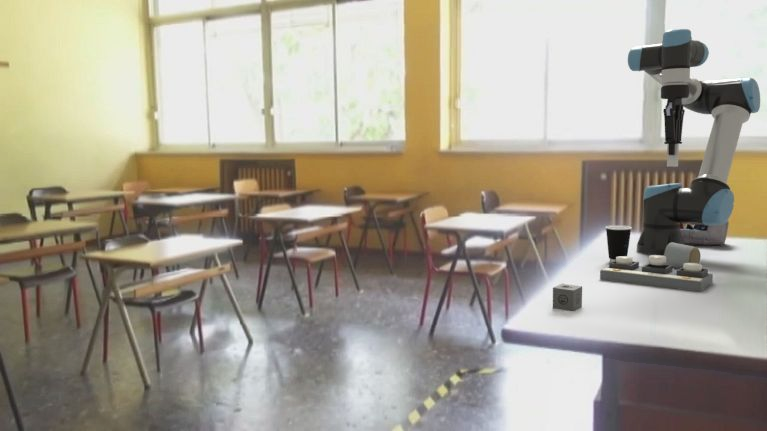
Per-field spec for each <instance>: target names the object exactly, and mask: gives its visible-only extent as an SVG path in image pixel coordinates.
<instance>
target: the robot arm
mask: <svg viewBox="0 0 767 431" xmlns="http://www.w3.org/2000/svg"><path fill="white" fill-rule="evenodd" d="M709 53H710V52H709V48H708V46H707V45H706V44H705V43H704V42H701V41H700V40H696V39H695V40H694V39H692V31H691V30H690V29H689V28H688V29H687V28H677V29H676V28H675V29H669V30H666V31H665V32H663V34H662V42H661V43H656V44H649V45H640V46H635V47H632V48H630V50H629V52H628V54H627V65H628V67H629V69H630V70H631V72H643V71H644V72H645V73H646V74H647V75H649V76H650V77H651V78H652V79H653V80H654V81H656V82H657V83H658V84H659V85H660V86H661V87H660V99H661V100H666V101H667V102H666V105H665V108H663V117H664V137H665V138H664V145H667V152H666V154H667V155H666V167H671V168H673V167H675V168H676V167H679V149H680V147H679V146H680V145H681V144H683V141H682V137H683V136H682V135H683V124H684V115H685V109H687V110H689V111H691V112H694V113H698V114H701V115H711V116H712V118H713V119H714V120H713V124H712V127H711V131H710V134H709V137H708V141H707V144H706V148H705V151H704V155H703V158H702V162H701V166H700V169H699V173H698V176H697V177H695V178H693V179H692V180H691V181H690V186H689V187H683V185H682V183H681V182H677V183H674V182H673V183H665V184H656V185H654V184H653V185H647V186H646V187H645V189H644V191H643V199H642V202H643V203H642V204H643V206H642V208H643V209H642V229H641V233H640V236H639V238H638V240H637V244H636V252H637V253H641V254H645V255H649V256H651V255H660V256H664V253H665V249H666V247H667V245H668V244H669V243H671V242H673V243H678V244H683V245H685V244H684V241H683V238H682V235H681V232H680V223H683V224H690V225H695V224H700V225H706V226H710V225H722V224H723V223H725V222H726V221H727V220H728V221H729V219H730V217H731V215H732V213H733V210H734V206H735V205H734V203H735V195H734V193H733V191H732V190H731V186H730V185H729V184H728V183H727V182H728V179H729V175H730V172H731V167H732V165H733V160H734V156H735V153H736V150H737V146H738V142H739V138H740V136H741V135H740V134H741V132H742V127H743V124H745V123H746V122H748V121H749V119H750V117H751V114H755V113H756V114H757V113H758V112H759V111H760V107H761V93H760V88H759V83H758V82H757V81H756V79H754V78H752V77H747V78H745V77H739V78H730V79H729V78H728V79H715V80H698V79H697V78H694V77H691V68H696V67H697V68H698V67H700V66H702V65H704V64H705V62H706V61H707V60H708V57H709ZM684 108H685V109H684Z"/></svg>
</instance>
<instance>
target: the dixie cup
mask: <svg viewBox="0 0 767 431" xmlns="http://www.w3.org/2000/svg"><path fill="white" fill-rule="evenodd" d="M632 229H633V227H631V226H629V225H607V226H605V230H606V243H607V252H608V259H609V263H611V262H613V261H615V260H616V257H618V256H628V253H629V246H630V238H631V232H632Z"/></svg>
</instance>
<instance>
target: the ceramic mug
mask: <svg viewBox="0 0 767 431" xmlns="http://www.w3.org/2000/svg"><path fill="white" fill-rule="evenodd" d="M663 256H665V257H666V265H672V269H673V270H678V269H680V268H682V267H683V265H684V263H698V264H701V263H700V262H701V251H700V249H699V248H697V247H695V246H694V245H683V244H678V243H673V242H671V243H669V244H668V245H667V247H666V249H665V253H664V255H663Z"/></svg>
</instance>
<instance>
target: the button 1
mask: <svg viewBox="0 0 767 431" xmlns="http://www.w3.org/2000/svg"><path fill="white" fill-rule="evenodd" d="M633 260H634V259H633V257H632V256H628V255H627V256H618V257H616V264H626V265H631V264H632V262H633Z"/></svg>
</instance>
